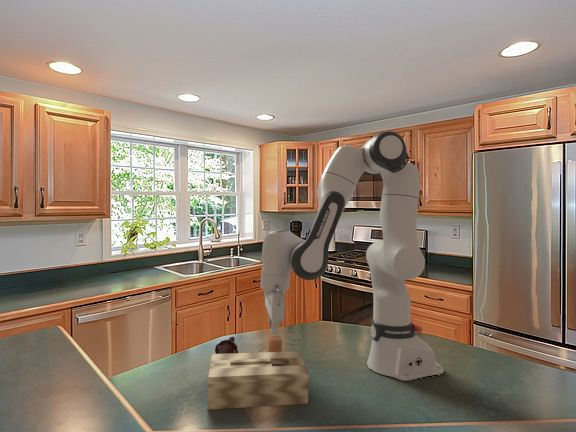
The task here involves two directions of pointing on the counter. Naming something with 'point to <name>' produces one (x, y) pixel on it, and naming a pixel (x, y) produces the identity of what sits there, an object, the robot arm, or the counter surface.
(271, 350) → the wooden block
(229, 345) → the icecream
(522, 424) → the counter surface
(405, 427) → the counter surface
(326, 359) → the counter surface
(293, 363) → the keyhole plate
